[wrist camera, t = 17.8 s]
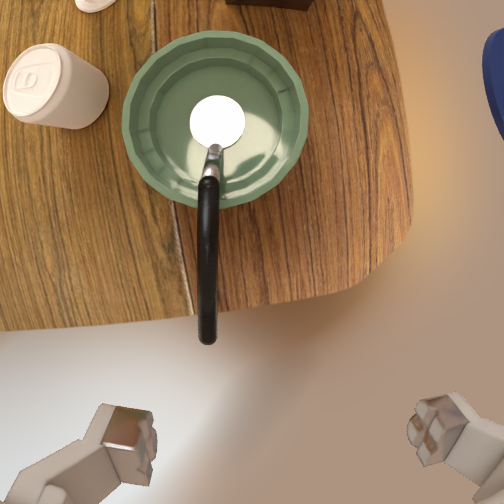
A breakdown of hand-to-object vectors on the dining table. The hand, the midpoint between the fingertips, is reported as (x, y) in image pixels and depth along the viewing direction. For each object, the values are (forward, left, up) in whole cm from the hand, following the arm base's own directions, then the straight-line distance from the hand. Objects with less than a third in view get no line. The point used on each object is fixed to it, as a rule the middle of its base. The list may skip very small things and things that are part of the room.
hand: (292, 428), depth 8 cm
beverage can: (+21, -16, -31) cm, 40 cm away
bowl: (+4, -12, -30) cm, 33 cm away
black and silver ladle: (+4, -3, -30) cm, 30 cm away
